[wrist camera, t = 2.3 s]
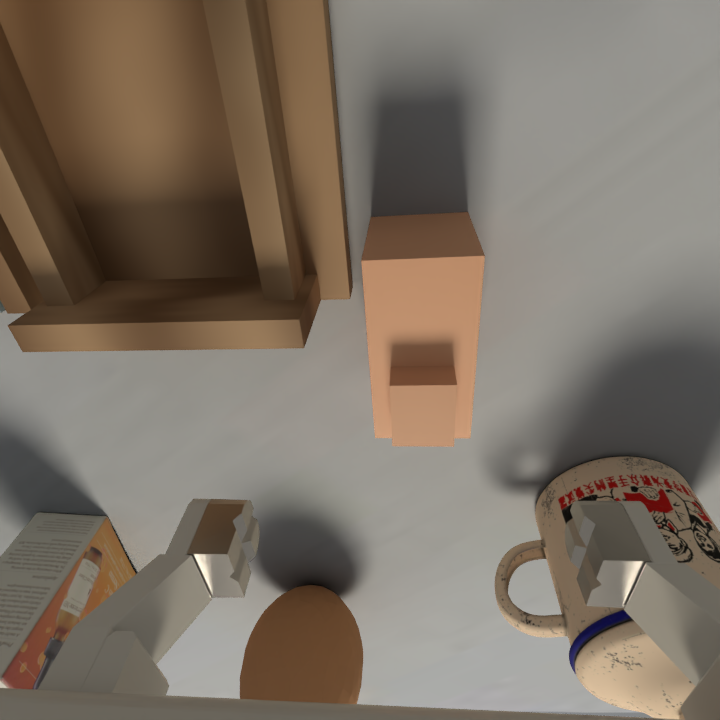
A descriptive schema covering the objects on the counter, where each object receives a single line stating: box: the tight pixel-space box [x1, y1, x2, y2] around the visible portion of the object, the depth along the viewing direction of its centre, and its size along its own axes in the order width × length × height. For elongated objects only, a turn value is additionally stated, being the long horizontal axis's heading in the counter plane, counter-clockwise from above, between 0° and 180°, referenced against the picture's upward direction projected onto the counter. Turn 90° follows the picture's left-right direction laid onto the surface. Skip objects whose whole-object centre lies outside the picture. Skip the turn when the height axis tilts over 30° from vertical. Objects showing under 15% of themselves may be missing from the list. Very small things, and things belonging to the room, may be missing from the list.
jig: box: [0, 0, 353, 352], centre depth 16 cm, size 20×13×5 cm, turn 94°
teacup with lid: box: [495, 456, 720, 720], centre depth 23 cm, size 12×9×12 cm
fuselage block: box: [361, 212, 485, 446], centre depth 19 cm, size 4×8×6 cm, turn 4°
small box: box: [0, 512, 136, 690], centre depth 31 cm, size 8×6×10 cm
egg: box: [240, 585, 363, 704], centre depth 31 cm, size 8×8×11 cm
